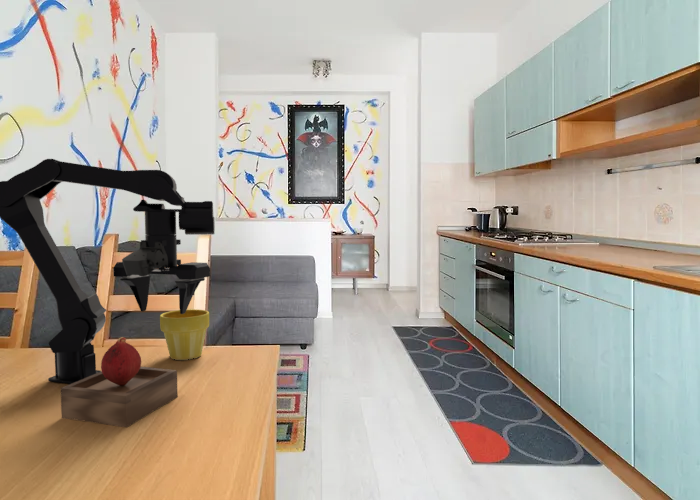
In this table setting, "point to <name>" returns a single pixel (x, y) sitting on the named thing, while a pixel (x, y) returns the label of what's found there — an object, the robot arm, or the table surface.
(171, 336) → the plant pot
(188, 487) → the table surface
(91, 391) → the walnut base
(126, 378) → the onion
